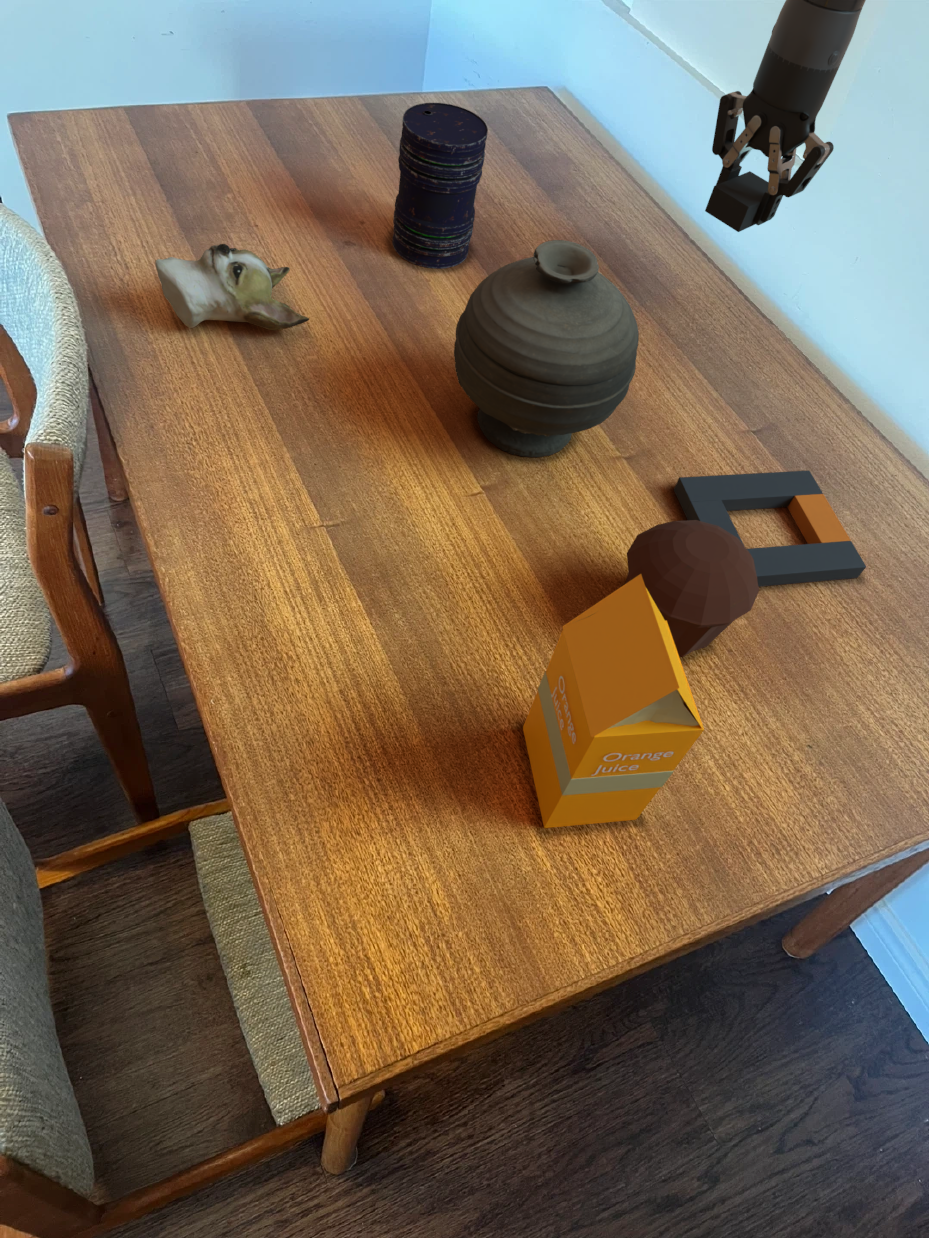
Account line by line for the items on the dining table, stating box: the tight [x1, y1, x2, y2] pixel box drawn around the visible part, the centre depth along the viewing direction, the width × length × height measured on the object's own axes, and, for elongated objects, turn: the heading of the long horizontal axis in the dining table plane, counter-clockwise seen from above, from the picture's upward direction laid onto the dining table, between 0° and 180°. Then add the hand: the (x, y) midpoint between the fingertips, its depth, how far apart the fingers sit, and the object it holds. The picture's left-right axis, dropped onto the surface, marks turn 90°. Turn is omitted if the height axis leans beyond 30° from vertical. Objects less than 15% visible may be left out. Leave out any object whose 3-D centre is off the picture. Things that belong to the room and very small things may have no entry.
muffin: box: [624, 520, 760, 658], centre depth 77 cm, size 12×11×10 cm
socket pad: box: [673, 470, 867, 588], centre depth 88 cm, size 15×13×2 cm
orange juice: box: [522, 574, 705, 829], centre depth 62 cm, size 8×9×20 cm
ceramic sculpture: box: [154, 243, 310, 331], centre depth 93 cm, size 11×9×15 cm
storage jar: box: [391, 102, 489, 270], centre depth 104 cm, size 10×10×15 cm
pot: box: [453, 239, 640, 458], centre depth 85 cm, size 18×18×20 cm
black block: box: [704, 171, 769, 233], centre depth 101 cm, size 7×5×3 cm
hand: (740, 210), depth 102 cm, fingers closed on black block, 5 cm apart
